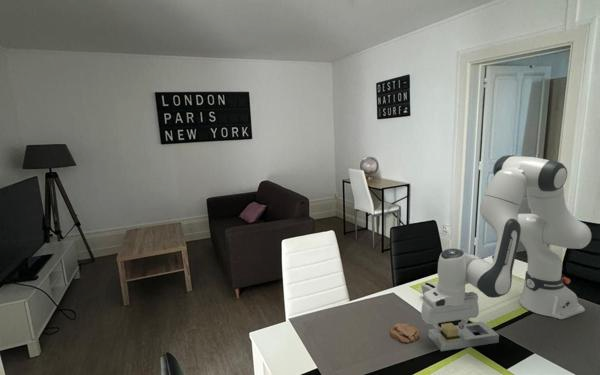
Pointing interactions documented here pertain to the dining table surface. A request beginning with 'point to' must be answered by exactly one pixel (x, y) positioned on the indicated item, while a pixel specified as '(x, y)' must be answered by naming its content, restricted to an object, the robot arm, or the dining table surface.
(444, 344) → the grey shape sorter tray
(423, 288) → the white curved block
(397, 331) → the cookie
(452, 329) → the wood grain block
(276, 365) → the dining table surface
